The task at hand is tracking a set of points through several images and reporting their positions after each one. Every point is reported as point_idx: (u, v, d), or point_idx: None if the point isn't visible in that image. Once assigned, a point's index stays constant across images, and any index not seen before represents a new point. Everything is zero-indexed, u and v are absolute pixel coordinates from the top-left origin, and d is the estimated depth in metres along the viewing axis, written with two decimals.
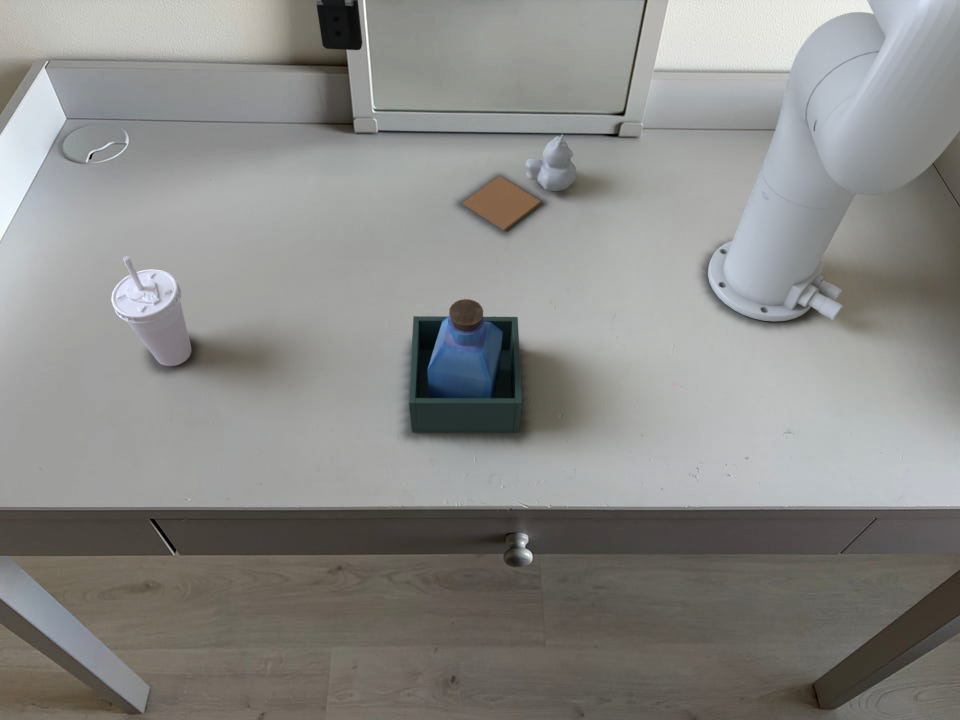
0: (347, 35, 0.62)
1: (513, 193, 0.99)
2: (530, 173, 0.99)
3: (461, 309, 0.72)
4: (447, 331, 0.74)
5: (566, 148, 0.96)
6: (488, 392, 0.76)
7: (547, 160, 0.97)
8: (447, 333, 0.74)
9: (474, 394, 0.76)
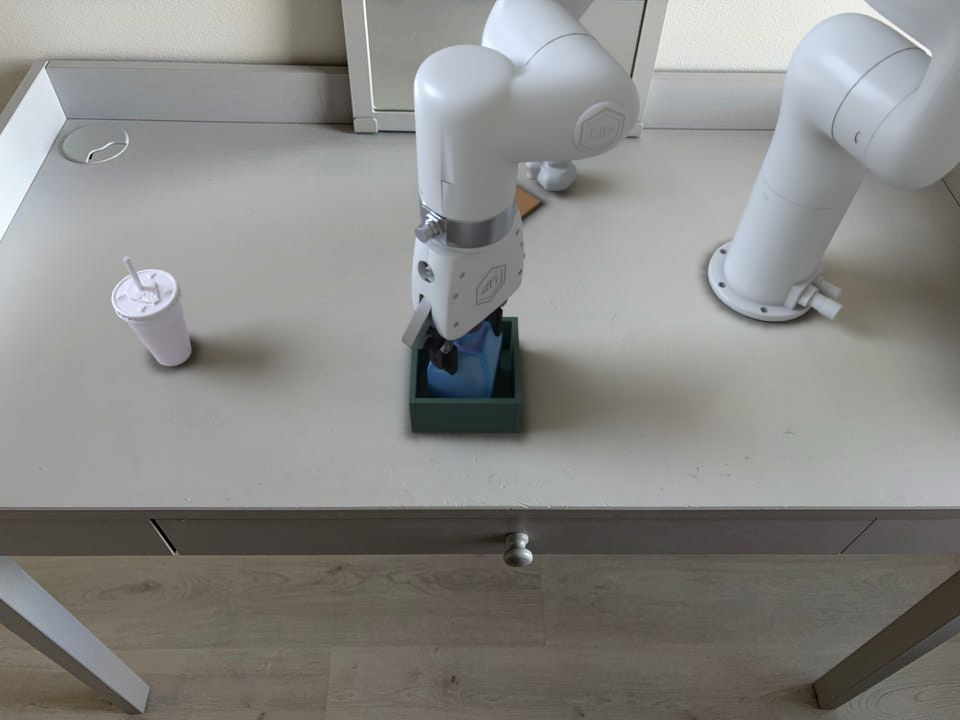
0: (441, 365, 0.72)
1: None
2: (530, 173, 0.99)
3: None
4: None
5: None
6: (488, 392, 0.76)
7: None
8: None
9: (474, 394, 0.76)
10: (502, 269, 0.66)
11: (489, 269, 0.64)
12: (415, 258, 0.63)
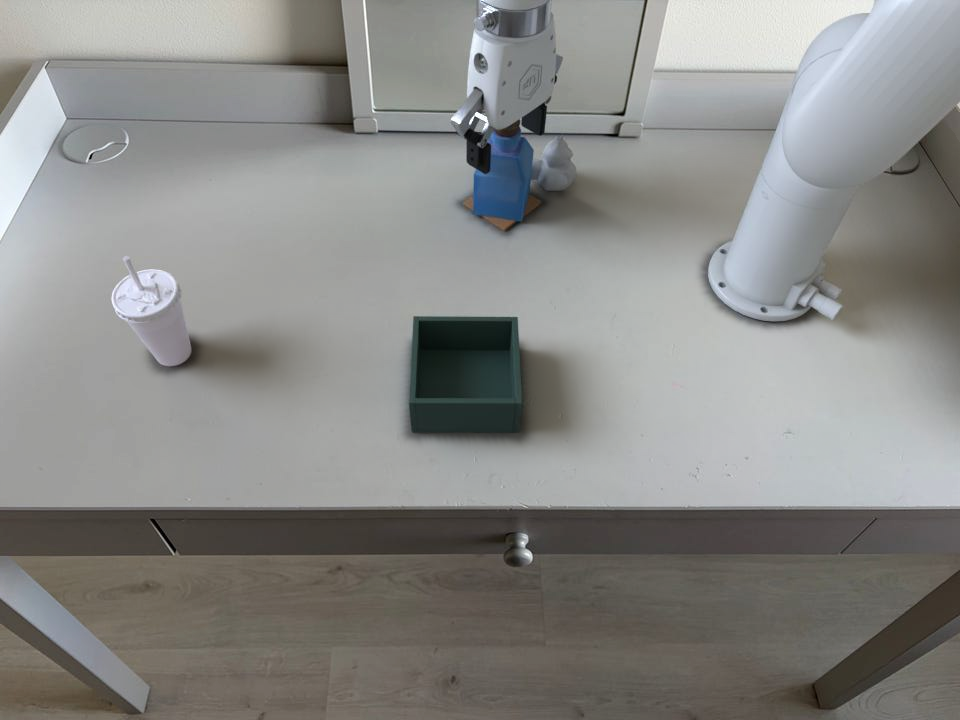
0: (477, 163, 0.87)
1: None
2: None
3: None
4: (490, 142, 0.92)
5: (566, 148, 0.96)
6: (523, 195, 0.93)
7: (547, 160, 0.97)
8: (490, 143, 0.91)
9: (511, 198, 0.94)
10: (539, 69, 0.82)
11: (529, 65, 0.81)
12: (472, 53, 0.79)
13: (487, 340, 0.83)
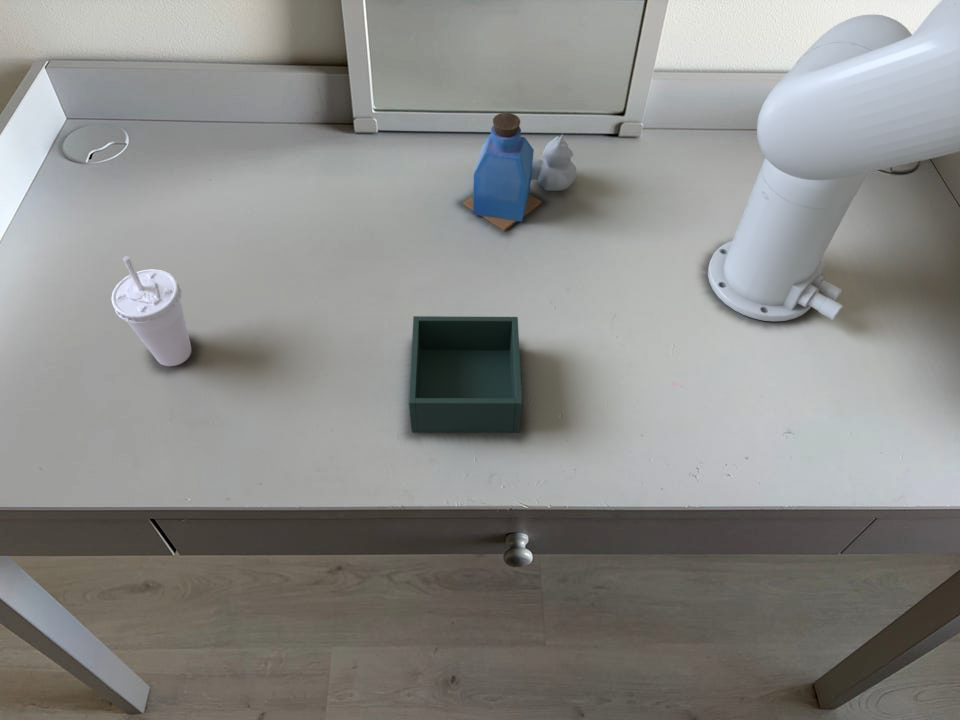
0: None
1: None
2: None
3: (502, 119, 0.89)
4: (489, 142, 0.92)
5: (566, 148, 0.96)
6: (522, 195, 0.93)
7: (547, 160, 0.97)
8: (489, 143, 0.91)
9: (511, 198, 0.94)
10: None
11: None
12: None
13: (487, 340, 0.83)
